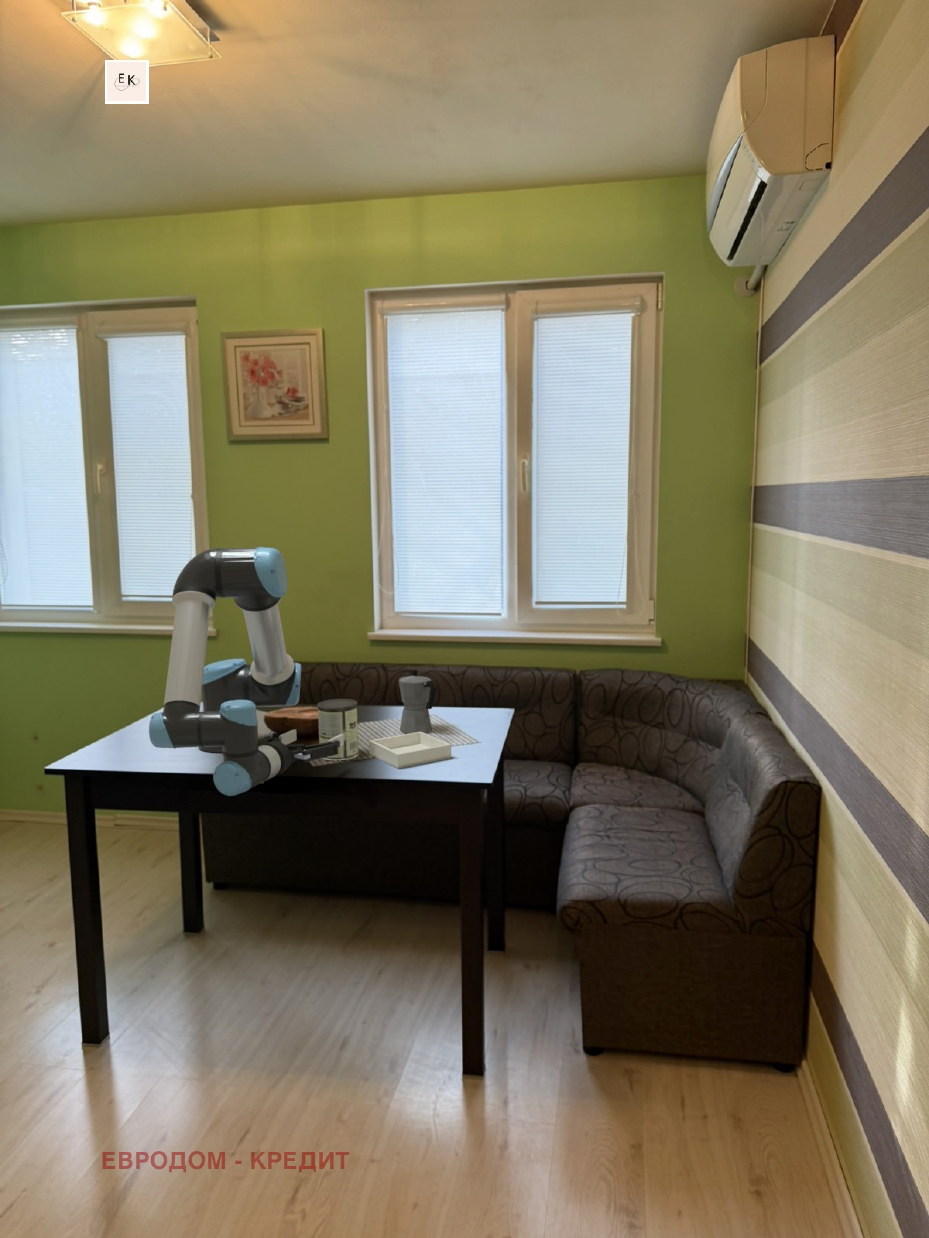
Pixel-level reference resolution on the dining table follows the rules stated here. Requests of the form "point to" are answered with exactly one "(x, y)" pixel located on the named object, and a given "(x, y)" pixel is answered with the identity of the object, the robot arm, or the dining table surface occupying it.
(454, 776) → the dining table surface
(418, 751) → the tray
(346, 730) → the coffee can
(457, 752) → the dining table surface
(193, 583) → the robot arm
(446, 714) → the dining table surface
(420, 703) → the coffeepot
